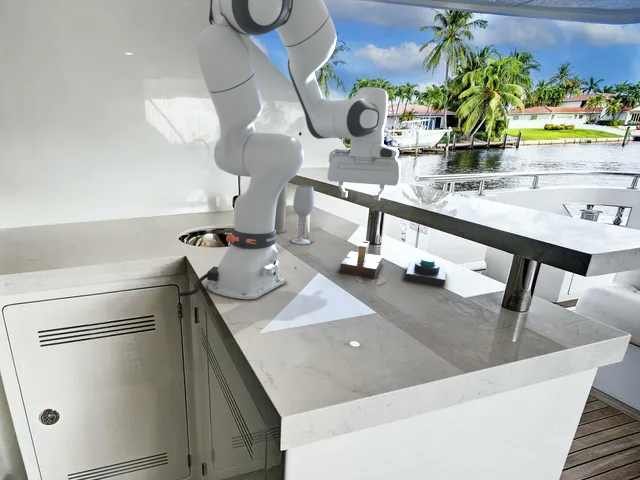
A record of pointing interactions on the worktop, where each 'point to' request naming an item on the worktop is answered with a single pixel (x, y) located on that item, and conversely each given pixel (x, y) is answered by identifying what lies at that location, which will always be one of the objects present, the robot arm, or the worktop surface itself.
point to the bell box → (426, 274)
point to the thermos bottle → (281, 211)
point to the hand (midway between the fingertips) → (360, 198)
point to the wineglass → (303, 207)
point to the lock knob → (363, 251)
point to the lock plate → (361, 265)
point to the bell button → (427, 262)
